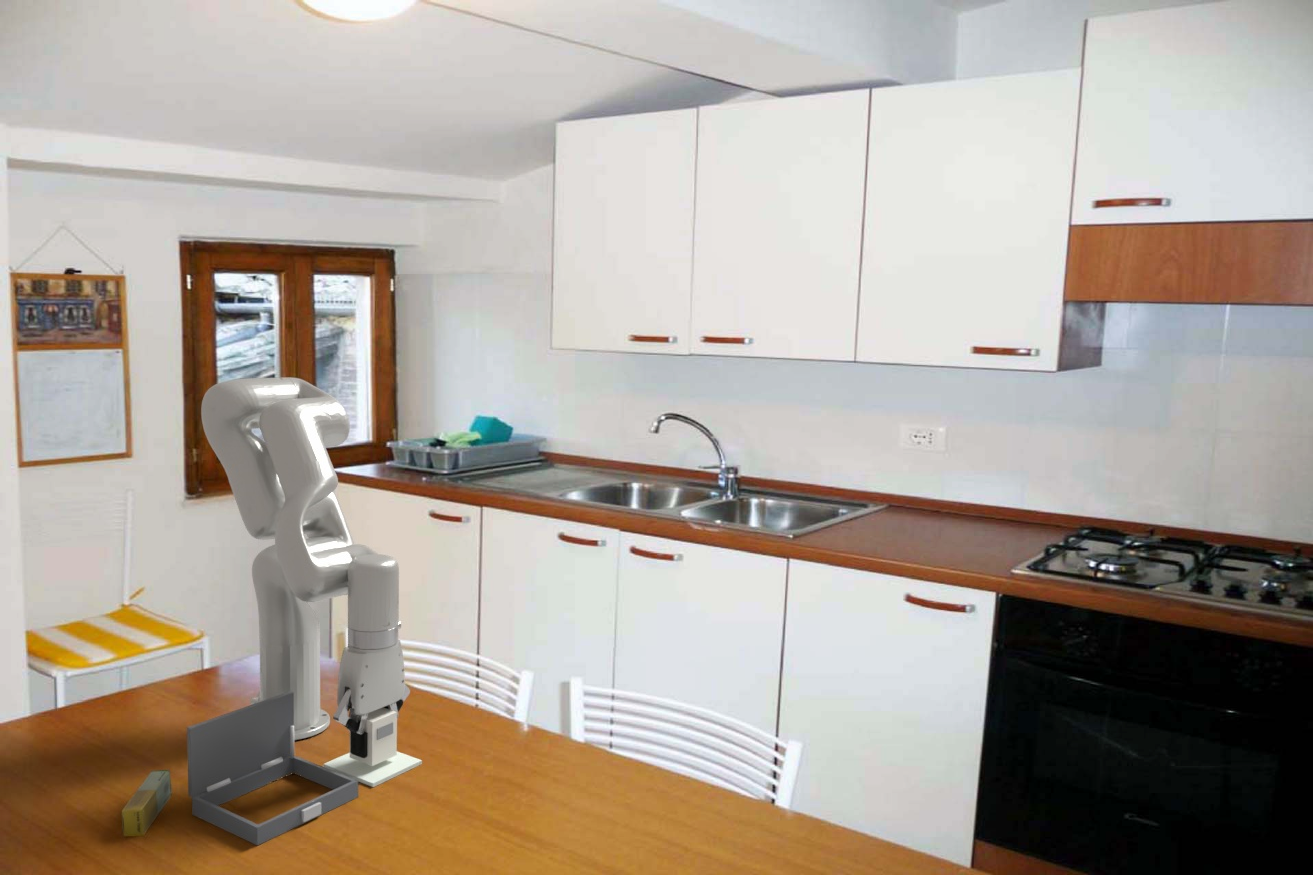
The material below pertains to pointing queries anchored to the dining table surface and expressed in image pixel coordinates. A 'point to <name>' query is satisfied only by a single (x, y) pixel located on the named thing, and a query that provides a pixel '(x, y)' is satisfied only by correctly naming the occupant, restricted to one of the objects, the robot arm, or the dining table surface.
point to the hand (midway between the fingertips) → (372, 748)
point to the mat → (373, 768)
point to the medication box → (146, 803)
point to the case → (255, 768)
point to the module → (380, 736)
